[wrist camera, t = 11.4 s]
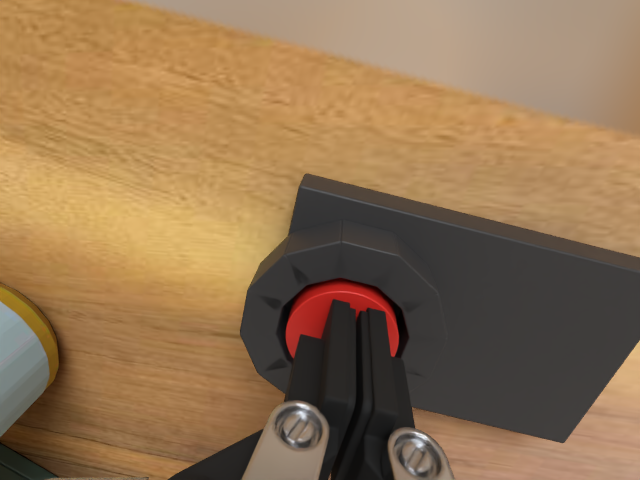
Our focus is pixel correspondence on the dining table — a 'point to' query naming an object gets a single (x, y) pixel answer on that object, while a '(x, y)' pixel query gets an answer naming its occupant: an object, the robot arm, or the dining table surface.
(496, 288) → the switch
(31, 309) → the bottle
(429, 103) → the dining table surface
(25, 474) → the cupboard
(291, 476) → the robot arm
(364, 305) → the button
